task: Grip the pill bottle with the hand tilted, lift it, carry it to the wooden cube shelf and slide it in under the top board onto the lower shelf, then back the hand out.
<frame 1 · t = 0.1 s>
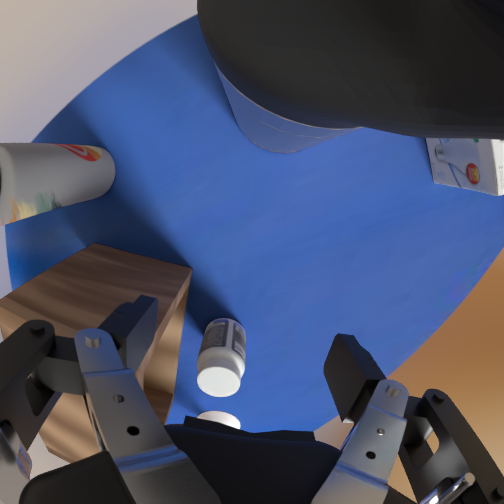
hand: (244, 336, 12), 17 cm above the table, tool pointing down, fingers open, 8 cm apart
light bulb box: (444, 137, 25), on the table
champagne flute: (218, 423, 37), on the table
wooden cube shelf: (134, 331, 32), on the table
pill bottle: (225, 333, 32), on the table
lotion bottle: (95, 172, 27), on the table
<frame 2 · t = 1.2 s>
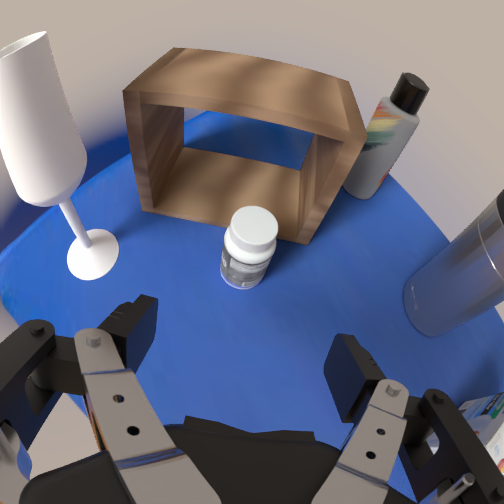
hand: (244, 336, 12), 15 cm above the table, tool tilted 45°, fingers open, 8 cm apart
light bulb box: (447, 442, 22), on the table
champagne flute: (92, 254, 29), on the table
wooden cube shelf: (232, 190, 36), on the table
pill bottle: (241, 271, 31), on the table
lotion bottle: (356, 187, 41), on the table
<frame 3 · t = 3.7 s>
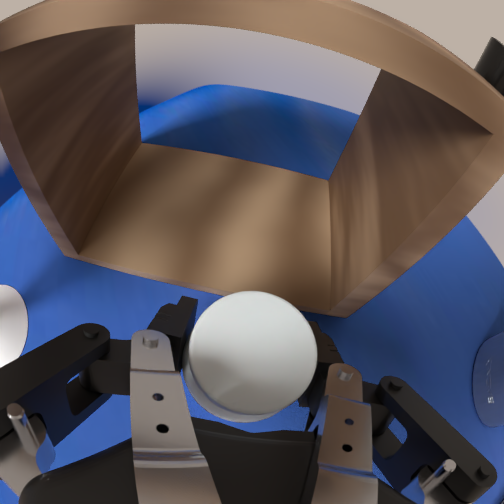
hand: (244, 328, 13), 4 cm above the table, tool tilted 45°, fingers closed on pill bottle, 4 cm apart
wooden cube shelf: (216, 216, 21), on the table
pill bottle: (229, 377, 15), on the table, touching gripper
lotion bottle: (407, 207, 26), on the table
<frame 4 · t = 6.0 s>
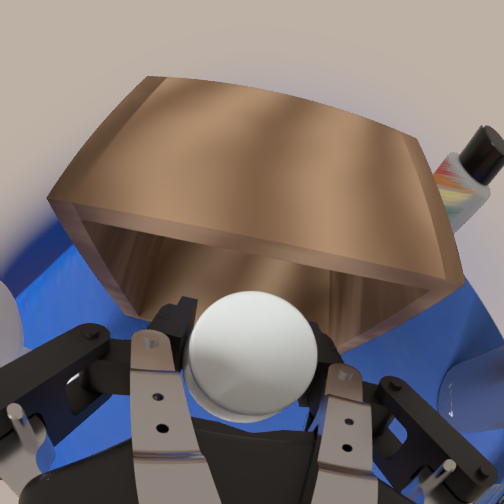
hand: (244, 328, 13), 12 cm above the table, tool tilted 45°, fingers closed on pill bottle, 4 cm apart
champagne flute: (71, 373, 20), on the table
wooden cube shelf: (243, 280, 27), on the table
pill bottle: (229, 377, 15), point 8 cm above the table, touching gripper
lotion bottle: (394, 256, 32), on the table
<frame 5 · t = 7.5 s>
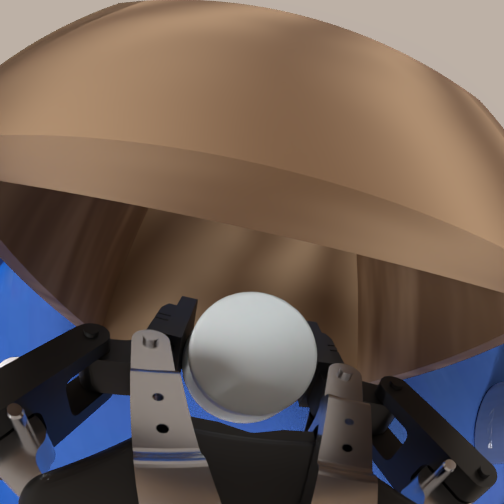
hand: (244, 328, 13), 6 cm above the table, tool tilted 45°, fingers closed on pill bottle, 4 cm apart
wooden cube shelf: (243, 288, 20), on the table
pill bottle: (229, 378, 15), point 1 cm above the table, touching gripper
when the fingers open (6 cm above the table, at t = 8.6 s): pill bottle stays where it is, resting on wooden cube shelf.
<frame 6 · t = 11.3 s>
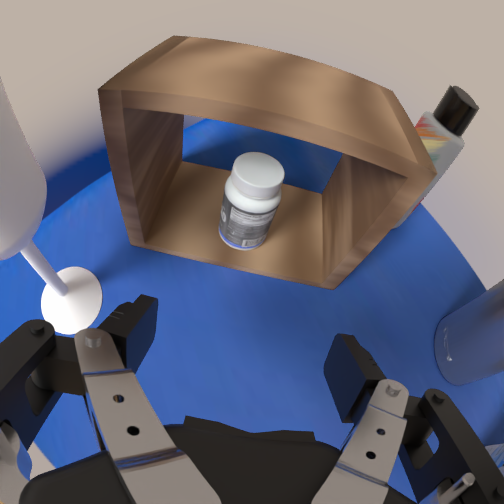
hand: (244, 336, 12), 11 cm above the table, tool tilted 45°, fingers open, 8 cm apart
light bulb box: (465, 487, 16), on the table
champagne flute: (70, 299, 22), on the table
wooden cube shelf: (243, 219, 30), on the table
pill bottle: (241, 232, 28), point 1 cm above the table, touching wooden cube shelf
lotion bottle: (382, 213, 35), on the table
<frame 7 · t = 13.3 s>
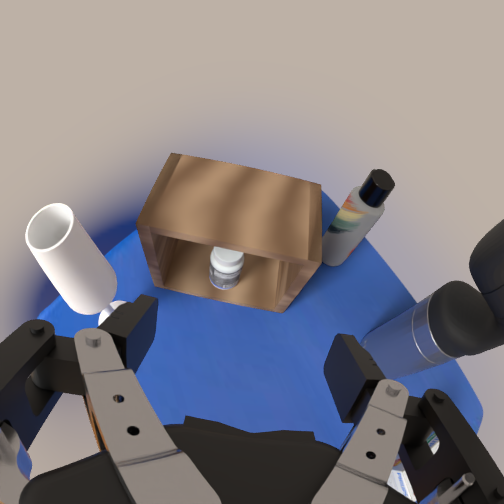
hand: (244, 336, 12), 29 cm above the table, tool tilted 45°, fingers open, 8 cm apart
light bulb box: (390, 461, 32), on the table
champagne flute: (119, 321, 38), on the table
wooden cube shelf: (225, 266, 46), on the table
pill bottle: (224, 277, 44), point 1 cm above the table, touching wooden cube shelf
lotion bottle: (330, 254, 51), on the table
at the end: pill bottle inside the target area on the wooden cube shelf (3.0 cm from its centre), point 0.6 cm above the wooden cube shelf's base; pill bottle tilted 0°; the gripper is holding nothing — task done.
